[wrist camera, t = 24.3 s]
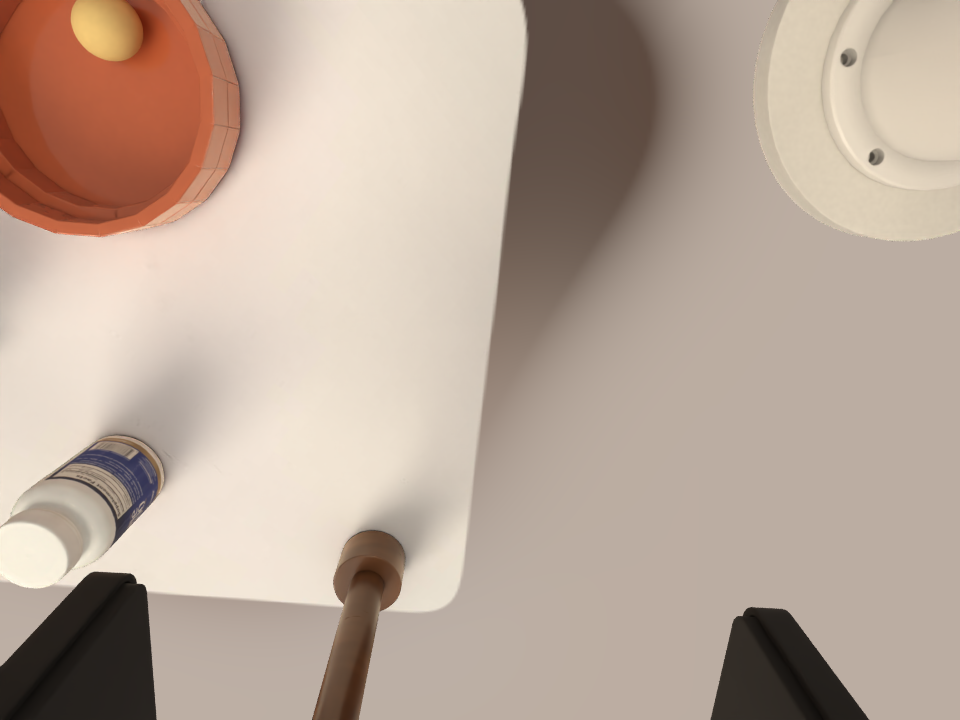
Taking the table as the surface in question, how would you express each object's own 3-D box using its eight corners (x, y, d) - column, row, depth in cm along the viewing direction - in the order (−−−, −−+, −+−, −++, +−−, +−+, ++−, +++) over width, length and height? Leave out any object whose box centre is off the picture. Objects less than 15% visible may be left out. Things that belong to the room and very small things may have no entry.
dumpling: (59, -15, 32) (96, -30, 30) (121, 17, 35) (158, 4, 33) (55, 49, 32) (92, 37, 30) (118, 76, 35) (154, 66, 33)
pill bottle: (119, 520, 43) (23, 617, 33) (65, 458, 41) (-50, 541, 32) (184, 483, 42) (104, 571, 33) (131, 418, 41) (33, 491, 31)
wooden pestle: (404, 529, 44) (372, 723, 28) (406, 585, 45) (375, 799, 29) (339, 530, 43) (272, 725, 28) (343, 585, 45) (280, 801, 29)
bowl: (240, -36, 34) (208, -67, 29) (246, 238, 38) (218, 246, 33) (-40, -63, 33) (-115, -99, 29) (-4, 218, 37) (-65, 224, 33)
